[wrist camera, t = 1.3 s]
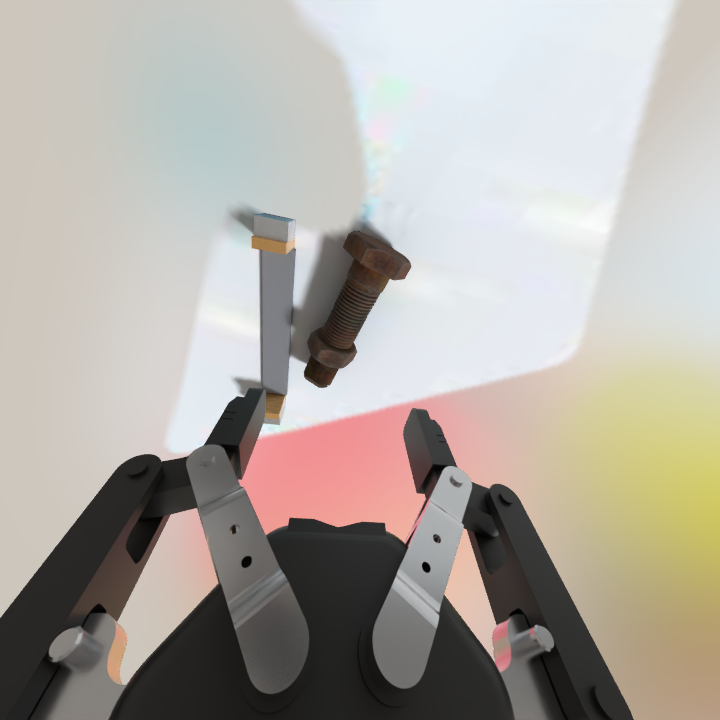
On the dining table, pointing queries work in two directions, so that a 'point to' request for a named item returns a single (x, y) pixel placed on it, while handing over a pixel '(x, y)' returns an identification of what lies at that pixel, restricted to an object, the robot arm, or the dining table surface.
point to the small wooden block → (274, 408)
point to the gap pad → (276, 318)
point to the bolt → (352, 305)
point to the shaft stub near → (273, 233)
